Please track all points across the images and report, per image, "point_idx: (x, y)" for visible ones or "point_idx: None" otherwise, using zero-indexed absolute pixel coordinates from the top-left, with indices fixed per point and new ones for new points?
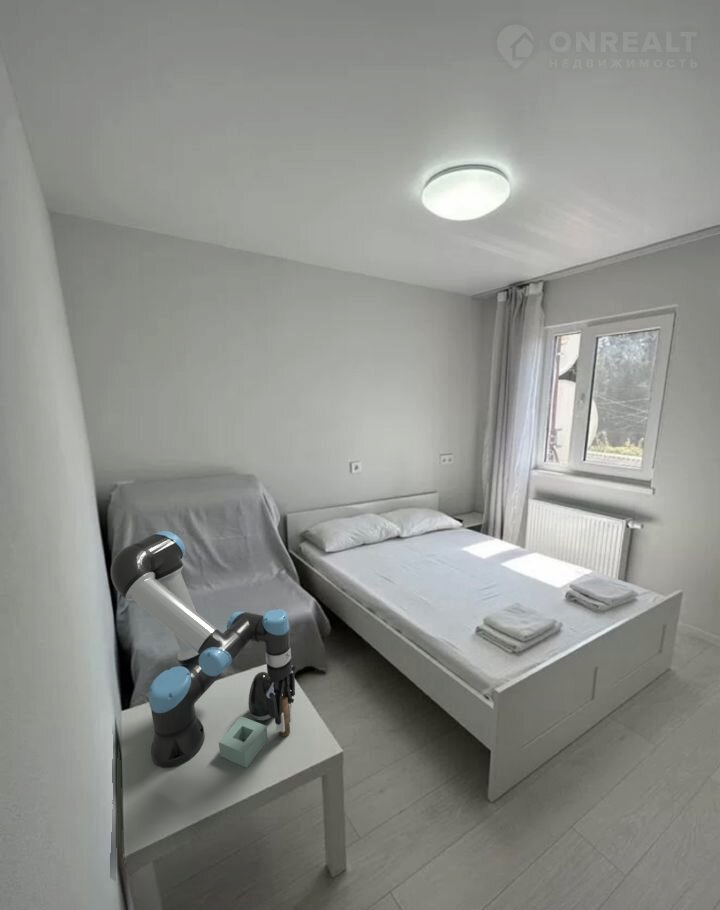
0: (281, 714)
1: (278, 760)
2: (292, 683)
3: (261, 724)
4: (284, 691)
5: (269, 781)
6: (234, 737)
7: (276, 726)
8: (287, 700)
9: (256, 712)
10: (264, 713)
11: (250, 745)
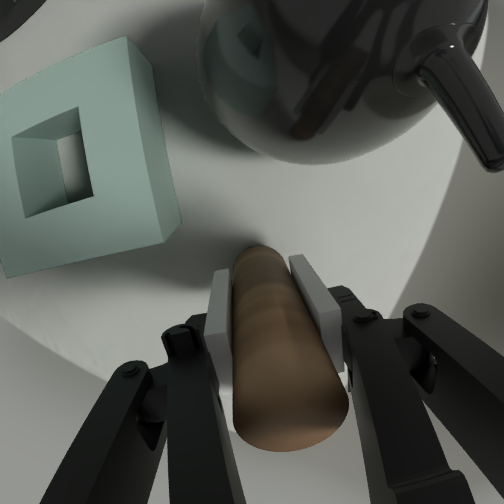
0: (220, 389)
1: (145, 339)
2: (468, 453)
3: (151, 203)
4: (367, 433)
5: (81, 362)
6: (29, 132)
7: (213, 281)
8: (314, 435)
9: (202, 88)
10: (236, 136)
11: (36, 266)
